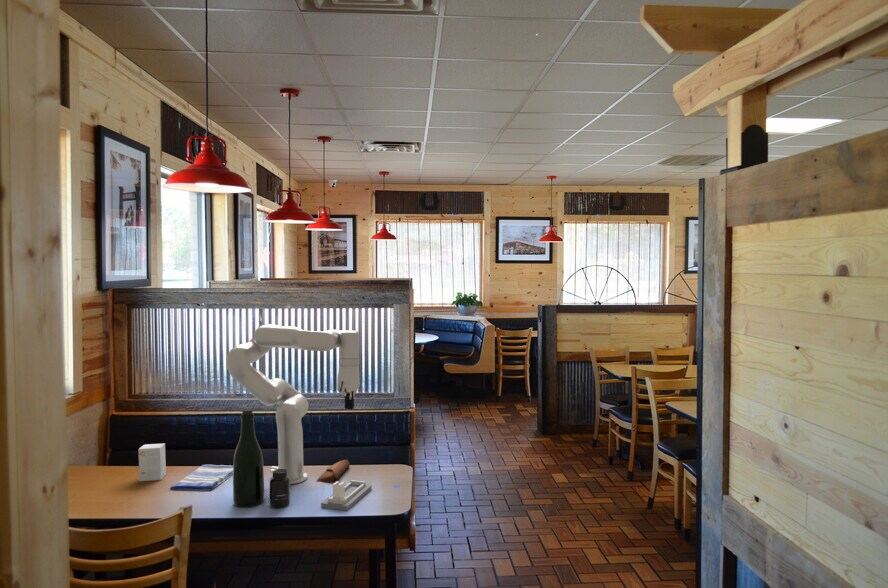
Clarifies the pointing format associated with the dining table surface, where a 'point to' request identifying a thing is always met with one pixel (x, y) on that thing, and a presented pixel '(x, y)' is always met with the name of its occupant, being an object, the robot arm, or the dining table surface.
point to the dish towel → (205, 478)
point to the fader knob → (339, 490)
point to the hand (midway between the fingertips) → (349, 408)
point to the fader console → (348, 496)
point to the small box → (152, 462)
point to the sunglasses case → (334, 471)
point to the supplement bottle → (279, 489)
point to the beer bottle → (248, 465)
